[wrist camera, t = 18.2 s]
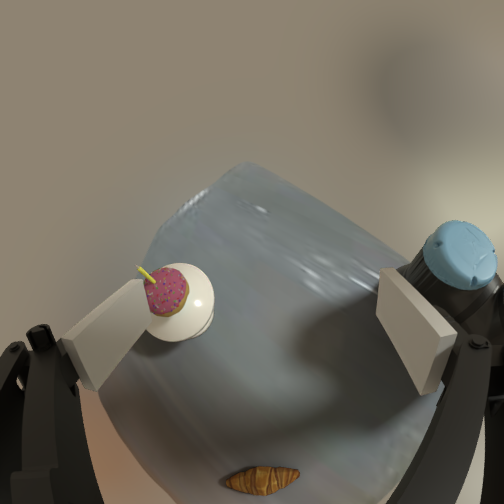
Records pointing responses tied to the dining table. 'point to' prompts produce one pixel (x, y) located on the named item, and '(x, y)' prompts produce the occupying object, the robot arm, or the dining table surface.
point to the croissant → (263, 480)
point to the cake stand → (187, 309)
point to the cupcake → (165, 291)
